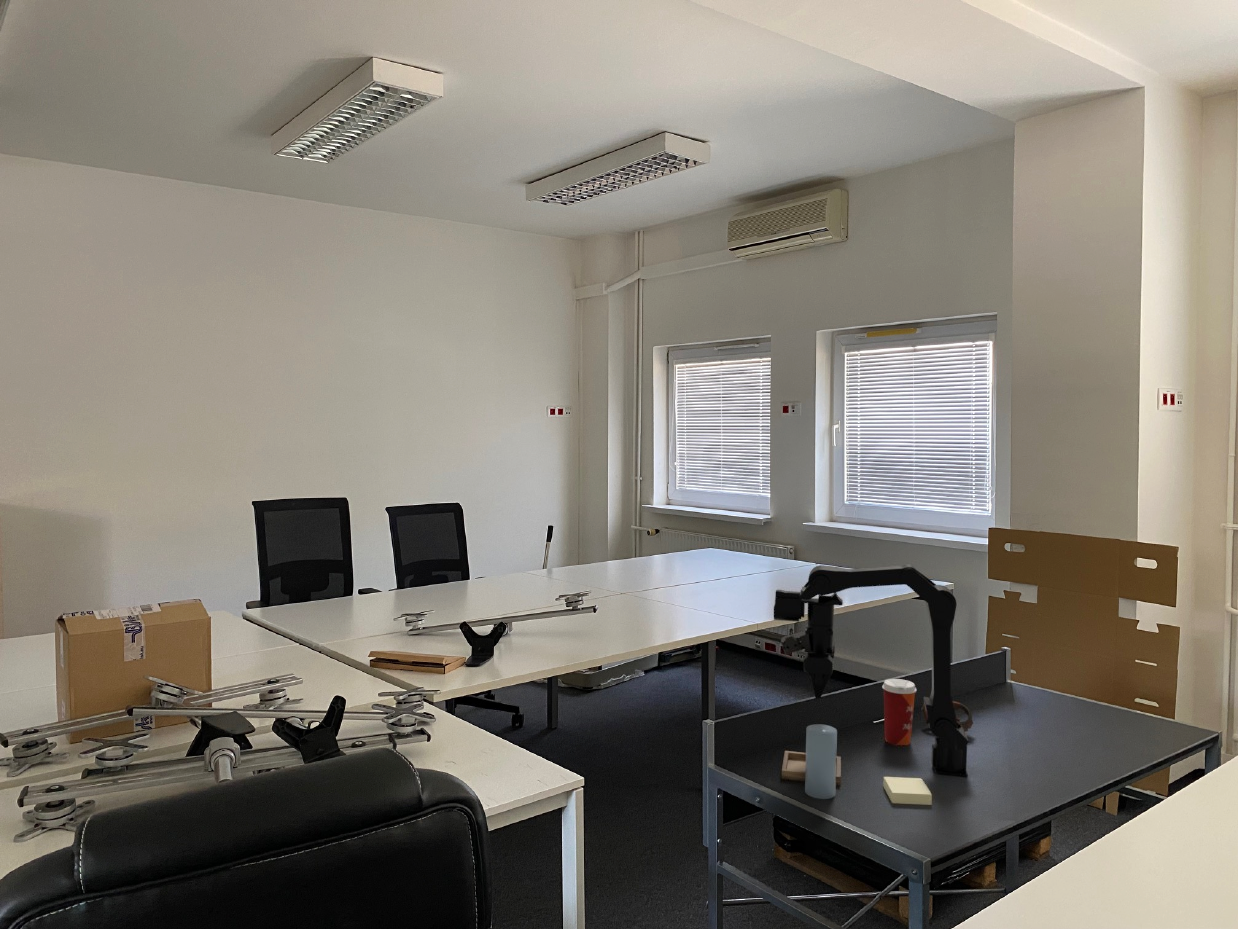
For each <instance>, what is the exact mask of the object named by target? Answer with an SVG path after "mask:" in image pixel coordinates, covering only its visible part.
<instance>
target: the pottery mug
mask: <svg viewBox="0 0 1238 929" xmlns="http://www.w3.org/2000/svg"><path fill="white" fill-rule="evenodd" d="M952 701H953V700H952ZM953 705H954V710H955V711H959V710H962V711H963V712H964V714H966V715H967V719H966V720H964V721H961V719H960V718H958V717H957V716H956V719H957V722H958V723H959V724H960V725H961V726H962V727H963V729H964V732H965V733H966V732H968V731H969V730H970V729H971V728H972V726H973V724H974V722H973V715H972V712H971V710H970V709H969V708H968V706H966V705H965V704H963V703H960V702H958V701H955V700H954V701H953ZM920 709H921V713H922V714H923V712H924V710H925V704H924V703H923V704H922V707H921V708H920Z"/></svg>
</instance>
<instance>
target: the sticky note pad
mask: <svg viewBox="0 0 1238 929" xmlns="http://www.w3.org/2000/svg"><path fill="white" fill-rule="evenodd" d="M882 785H883V786H882V787H883V788H884V790H885V792H886V794H887V796H888V798H889V800H890V802H891V803H892V804H907V805H925V806H927V805H929V806H930V805H931V806H932V804H933V802H932V801H933V800H932V799H933V798H932V797H933V794H932V793H931V791H930V789H929V788H928V786H927V784H925V781H923V779H922V778H918V777H901V776H900V777H898V776H897V777H896V776H895V777H894V776H883V783H882Z"/></svg>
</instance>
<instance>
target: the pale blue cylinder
mask: <svg viewBox="0 0 1238 929" xmlns="http://www.w3.org/2000/svg"><path fill="white" fill-rule="evenodd" d="M837 743H838V730H837V728H835V727H833V726H831V725H827V724H822V723H821V724H819V723H815V724H810V725H808V726H806V737H805V753H806V770H805V781H804V783H805V784H804V793H805V794H806V795H808V796H809V797H810V798H813V799H818V800H828V799H829V800H830V799H832V798H834V797H835V796H836V787H837V785H836V756H837V748H838V747H837V745H838V744H837Z"/></svg>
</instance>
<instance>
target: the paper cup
mask: <svg viewBox="0 0 1238 929" xmlns="http://www.w3.org/2000/svg"><path fill="white" fill-rule="evenodd" d="M881 688H882V689H883V712H884V713H883V717H884V718H883V720H884V738H885V742H886V743H887V742H888V744H890V745H892V746H897V745H901V746H900V747H903V746H902V745H906V746H909V745H910V744H911V737H912V736H911V735H912V727H913V717H914V706H915V705H914V704H915V697H916V696H915V695H916V693H917V687H916V685H915V683H914V682H912V681H910V680H907V679H906V680H905V679H900V678H889V679H884V682H883V684H882V686H881Z"/></svg>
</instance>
